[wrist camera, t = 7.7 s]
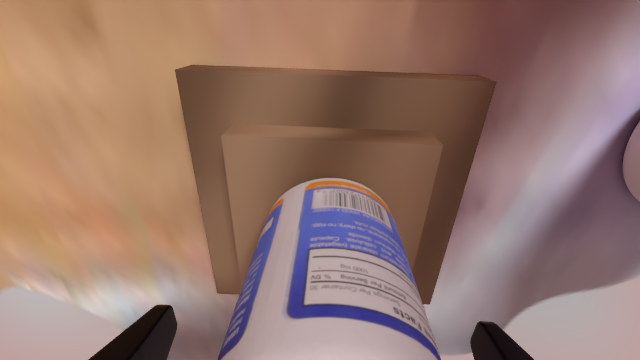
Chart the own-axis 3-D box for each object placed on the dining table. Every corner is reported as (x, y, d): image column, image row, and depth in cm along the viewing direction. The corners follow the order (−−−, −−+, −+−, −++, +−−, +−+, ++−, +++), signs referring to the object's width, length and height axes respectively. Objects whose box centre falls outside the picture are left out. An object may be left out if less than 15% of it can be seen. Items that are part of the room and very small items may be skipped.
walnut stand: (478, 75, 12) (519, 89, 10) (422, 283, 18) (438, 328, 15) (191, 64, 12) (153, 75, 10) (225, 273, 18) (207, 316, 15)
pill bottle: (310, 291, 14) (278, 698, 6) (240, 210, 12) (18, 660, 4) (416, 247, 13) (591, 711, 4) (356, 147, 11) (453, 656, 2)
